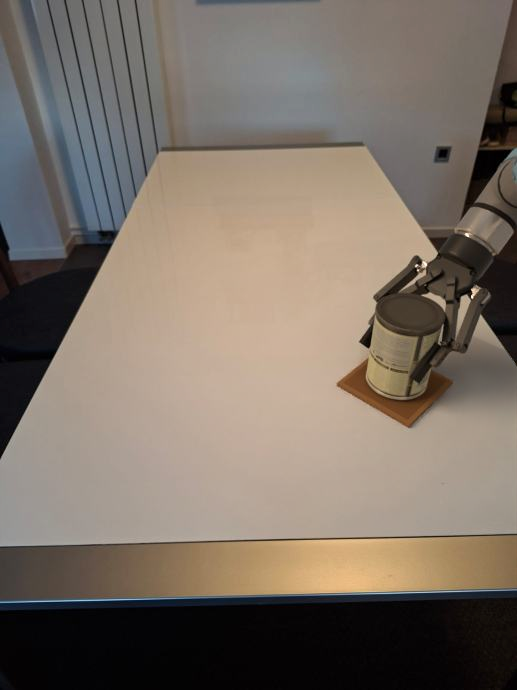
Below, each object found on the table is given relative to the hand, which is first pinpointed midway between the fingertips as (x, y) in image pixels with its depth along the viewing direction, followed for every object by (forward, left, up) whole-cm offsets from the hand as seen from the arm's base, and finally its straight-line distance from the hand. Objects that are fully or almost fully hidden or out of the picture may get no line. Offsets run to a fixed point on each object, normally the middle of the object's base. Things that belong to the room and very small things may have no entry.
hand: (387, 362), depth 79 cm
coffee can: (+1, -3, -6) cm, 6 cm away
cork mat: (+1, -3, -6) cm, 7 cm away
